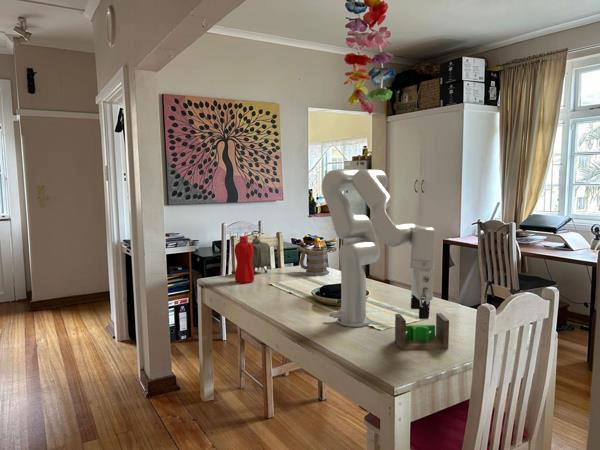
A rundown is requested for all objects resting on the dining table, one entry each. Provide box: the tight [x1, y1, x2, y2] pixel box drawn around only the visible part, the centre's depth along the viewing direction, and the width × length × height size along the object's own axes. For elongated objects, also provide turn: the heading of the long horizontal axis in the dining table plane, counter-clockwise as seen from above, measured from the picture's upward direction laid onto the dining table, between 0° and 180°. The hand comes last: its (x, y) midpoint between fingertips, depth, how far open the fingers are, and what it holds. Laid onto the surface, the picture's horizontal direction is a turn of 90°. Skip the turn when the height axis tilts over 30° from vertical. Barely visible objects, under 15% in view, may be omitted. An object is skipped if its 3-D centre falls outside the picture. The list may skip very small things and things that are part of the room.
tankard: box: [296, 246, 330, 277], centre depth 262 cm, size 20×13×15 cm, turn 58°
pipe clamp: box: [406, 324, 436, 342], centre depth 151 cm, size 11×4×5 cm, turn 92°
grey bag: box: [250, 230, 271, 274], centre depth 264 cm, size 14×9×25 cm, turn 49°
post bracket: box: [394, 312, 450, 350], centre depth 150 cm, size 16×8×10 cm, turn 91°
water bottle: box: [233, 235, 255, 284], centre depth 240 cm, size 9×11×25 cm
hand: (419, 313), depth 150 cm, fingers open, 9 cm apart
